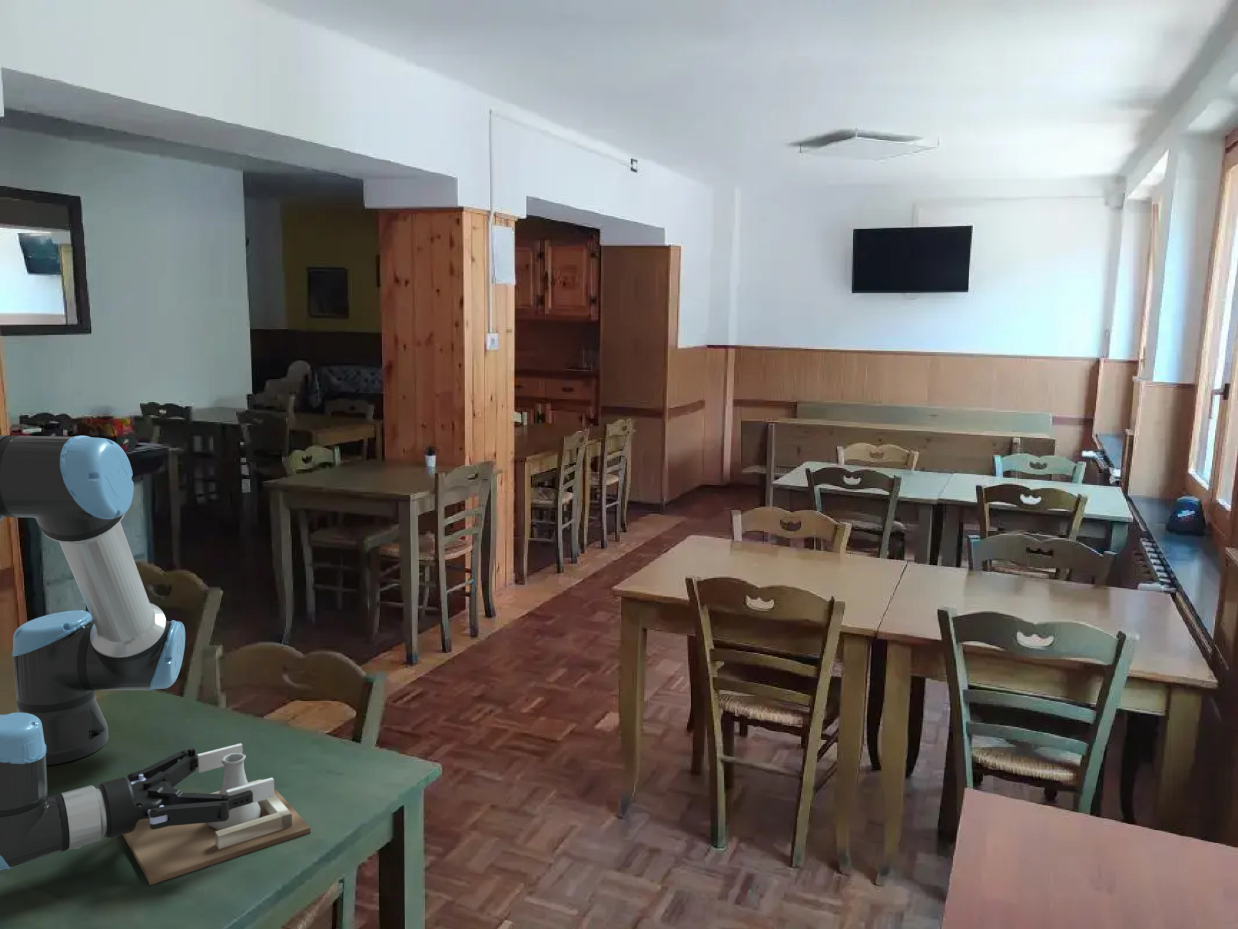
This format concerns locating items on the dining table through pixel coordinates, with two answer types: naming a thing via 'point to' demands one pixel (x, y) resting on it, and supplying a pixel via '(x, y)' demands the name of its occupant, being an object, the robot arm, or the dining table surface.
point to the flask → (233, 779)
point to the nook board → (211, 840)
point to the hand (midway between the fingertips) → (257, 769)
